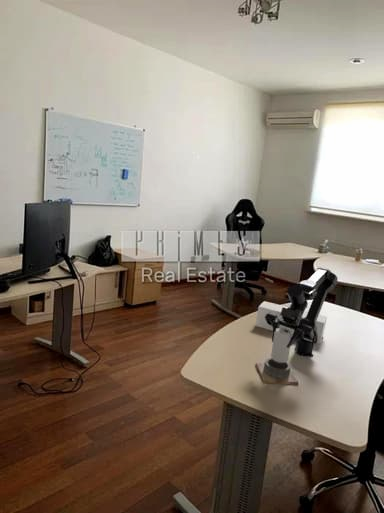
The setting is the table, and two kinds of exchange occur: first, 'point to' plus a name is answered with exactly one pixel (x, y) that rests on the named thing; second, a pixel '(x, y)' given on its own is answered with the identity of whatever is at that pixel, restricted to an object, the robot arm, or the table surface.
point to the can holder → (276, 372)
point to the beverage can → (281, 345)
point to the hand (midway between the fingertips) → (279, 344)
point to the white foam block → (276, 310)
